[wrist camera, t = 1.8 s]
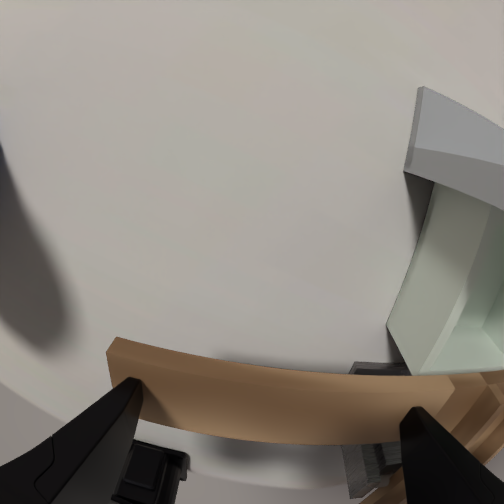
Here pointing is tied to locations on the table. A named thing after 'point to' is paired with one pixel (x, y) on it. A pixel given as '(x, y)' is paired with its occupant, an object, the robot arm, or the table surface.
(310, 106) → the table surface
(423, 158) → the backboard
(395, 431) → the lever
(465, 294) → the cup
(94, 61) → the table surface
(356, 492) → the fulcrum
